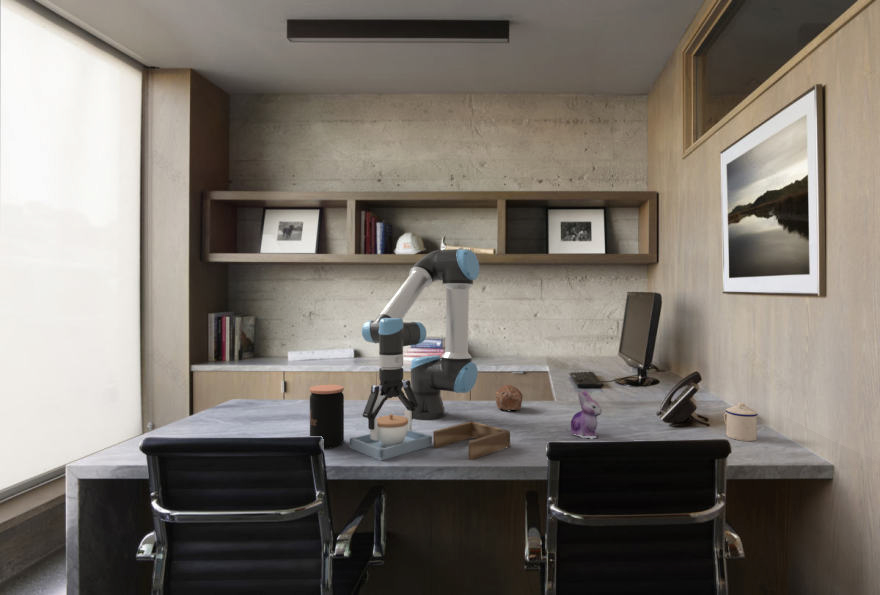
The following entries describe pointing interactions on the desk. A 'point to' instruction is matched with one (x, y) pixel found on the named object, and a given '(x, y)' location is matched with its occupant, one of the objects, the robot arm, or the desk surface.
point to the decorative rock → (509, 398)
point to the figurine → (586, 416)
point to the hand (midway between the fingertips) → (391, 435)
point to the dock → (484, 434)
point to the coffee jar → (327, 414)
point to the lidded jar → (392, 430)
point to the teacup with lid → (741, 422)
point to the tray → (381, 453)
